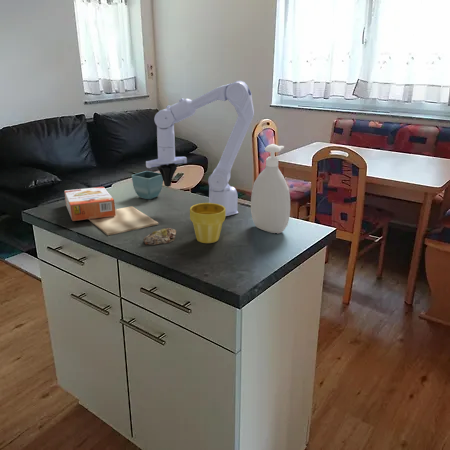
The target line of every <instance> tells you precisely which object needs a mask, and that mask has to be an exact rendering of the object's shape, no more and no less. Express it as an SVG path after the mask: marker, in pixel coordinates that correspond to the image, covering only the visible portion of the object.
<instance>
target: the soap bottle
mask: <svg viewBox="0 0 450 450" xmlns="http://www.w3.org/2000/svg"><path fill="white" fill-rule="evenodd" d="M284 149H285V145H277V144H276V143H271V144H268V145H267V146H265V147H264V151H265V152H268V153H270V156H268V157H267V158H266V159H265V167H264V169H263V170H262V171H261V172H260V173H258V176H257V177H256V179H255V180H254V182H253V186H252V189H251V195H250V196H251V197H250V212H251V219H252V222H253V224H254V226H255V227H256V228H257V229H260V230H262V231H265V232H267V233H270V234H275V233H277V234H281V233H283V232H284V231H285V230H286V228H287V227H288V224H289V221H290V216H291V195H290V188H289V186H288V184H287V181H286V179H285V176H284V175H283V174H282V171H281V170H280V169H279V158H278V157H277V156H275V153H279V152H282V150H284Z"/></svg>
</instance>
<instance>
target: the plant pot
mask: <svg viewBox="0 0 450 450" xmlns="http://www.w3.org/2000/svg"><path fill="white" fill-rule="evenodd" d="M225 215H226V209H225V207H224V206H222V205H220V204H216V203H209V202H201V203H195V204H193V205H192V206H190V208H189V219H190V221H191V222H192V225H193V229H194V233H195V238H196V240H197V242H199V243H203V244H212V243H216V242H218V241H219V239H220V235H221V231H222V228H223V224H224V222H225V220H226V216H225Z"/></svg>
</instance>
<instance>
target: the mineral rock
mask: <svg viewBox="0 0 450 450" xmlns="http://www.w3.org/2000/svg"><path fill="white" fill-rule="evenodd" d="M176 235H177V230H176V229H174V228H171V227H167V228H161V229H159V230H154V231H152V232H151V233H149V234H148V235H147V236H144V237H143V243H144V245H148V246H149V245H150V246H155V245H159V244H170V243H171V242H174V241H175V239H176Z"/></svg>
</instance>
